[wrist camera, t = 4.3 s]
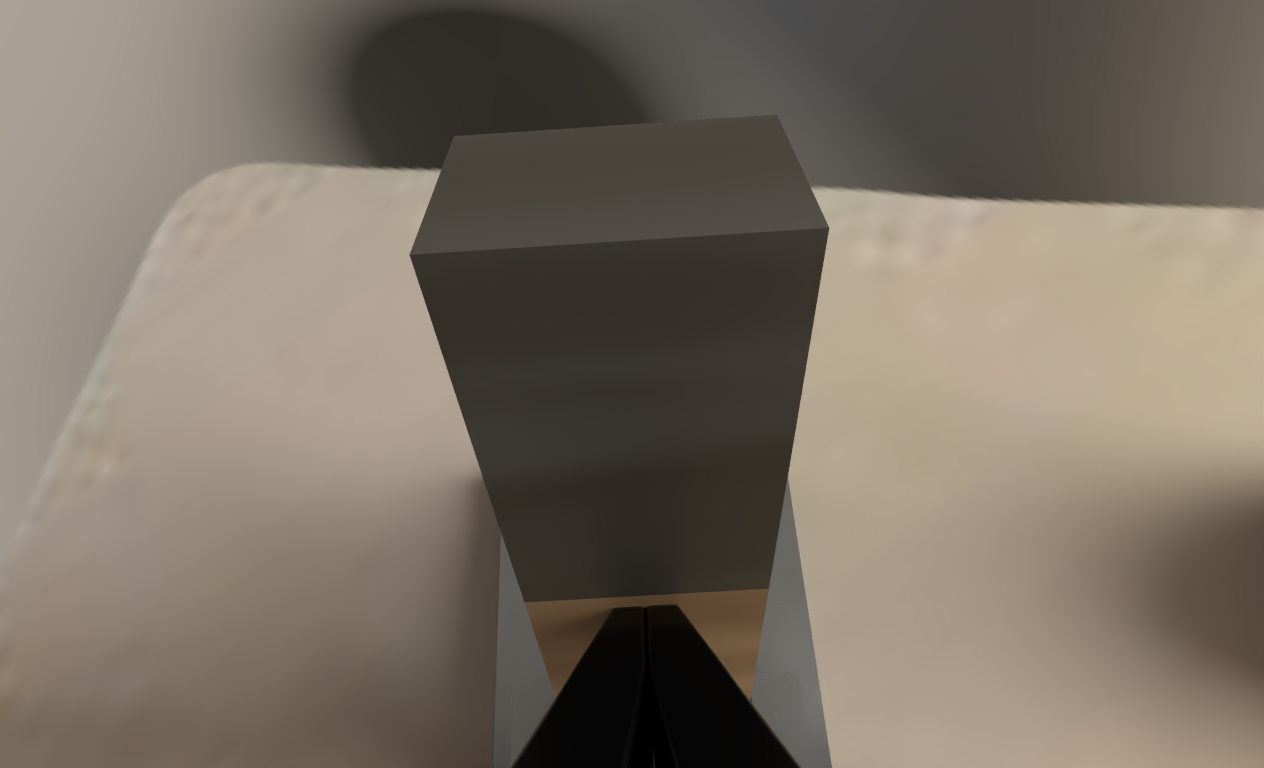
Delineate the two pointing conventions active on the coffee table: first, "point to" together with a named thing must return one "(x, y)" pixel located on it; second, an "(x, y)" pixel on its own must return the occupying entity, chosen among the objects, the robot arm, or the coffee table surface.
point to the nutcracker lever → (629, 362)
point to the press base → (779, 679)
